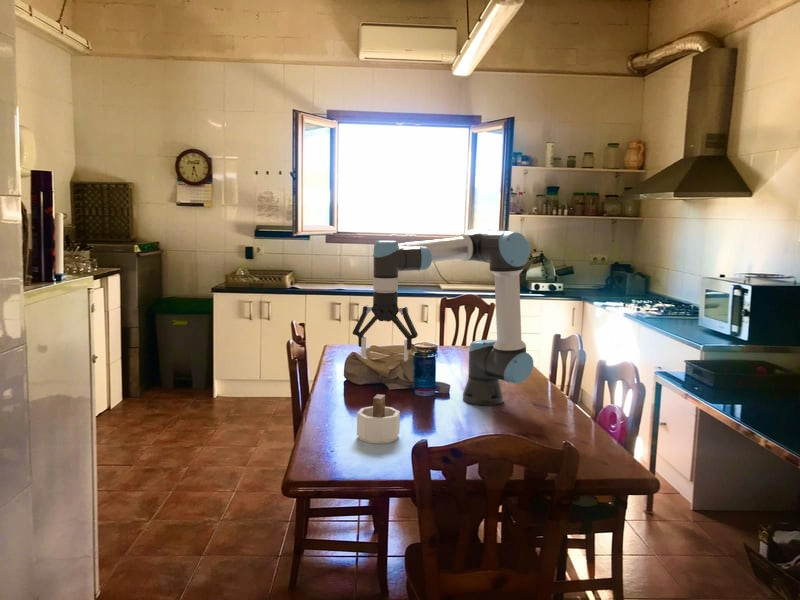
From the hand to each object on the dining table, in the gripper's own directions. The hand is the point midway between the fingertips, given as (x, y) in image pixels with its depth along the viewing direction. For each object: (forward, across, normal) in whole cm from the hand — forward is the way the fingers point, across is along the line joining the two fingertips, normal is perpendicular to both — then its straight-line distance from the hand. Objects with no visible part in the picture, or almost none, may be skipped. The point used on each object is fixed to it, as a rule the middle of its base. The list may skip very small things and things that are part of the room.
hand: (384, 358), depth 203 cm
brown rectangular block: (+23, +1, +3) cm, 24 cm away
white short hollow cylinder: (+24, +1, +3) cm, 25 cm away
